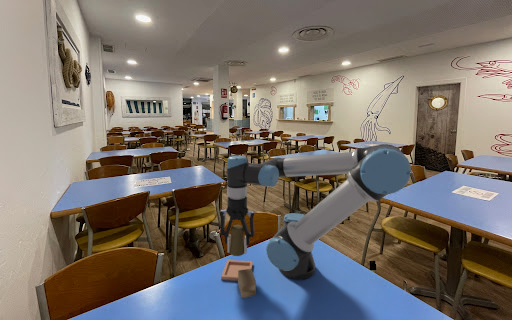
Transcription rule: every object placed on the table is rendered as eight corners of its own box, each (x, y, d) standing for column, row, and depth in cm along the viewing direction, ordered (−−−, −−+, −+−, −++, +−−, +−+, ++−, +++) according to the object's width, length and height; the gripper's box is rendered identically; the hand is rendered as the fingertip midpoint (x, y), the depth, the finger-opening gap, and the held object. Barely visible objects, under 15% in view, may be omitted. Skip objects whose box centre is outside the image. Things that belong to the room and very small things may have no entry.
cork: (242, 257, 93) (242, 230, 91) (227, 255, 94) (227, 228, 92) (246, 248, 99) (246, 223, 97) (232, 246, 100) (232, 222, 98)
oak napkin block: (251, 282, 92) (251, 268, 91) (255, 295, 85) (255, 280, 84) (238, 284, 90) (238, 270, 89) (241, 298, 84) (241, 283, 83)
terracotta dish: (252, 264, 103) (252, 261, 103) (249, 281, 92) (249, 278, 92) (227, 262, 104) (227, 259, 104) (221, 279, 93) (221, 276, 93)
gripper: (262, 194, 95) (261, 247, 99) (215, 192, 97) (216, 245, 101) (261, 200, 88) (260, 258, 92) (210, 198, 89) (211, 255, 94)
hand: (237, 251), depth 96 cm, fingers closed on cork, 6 cm apart
